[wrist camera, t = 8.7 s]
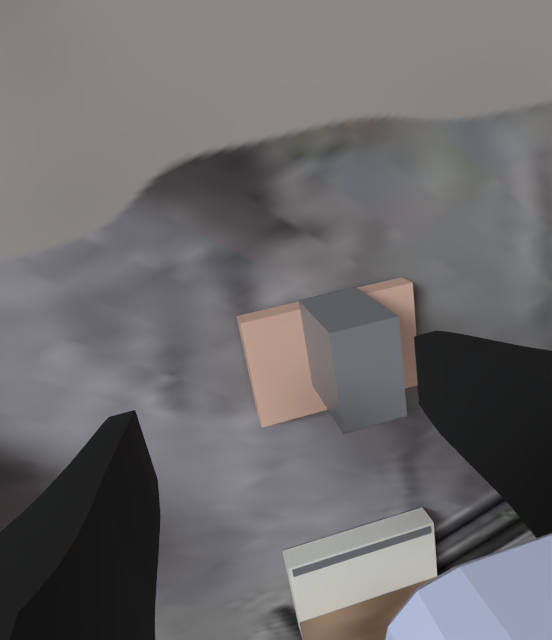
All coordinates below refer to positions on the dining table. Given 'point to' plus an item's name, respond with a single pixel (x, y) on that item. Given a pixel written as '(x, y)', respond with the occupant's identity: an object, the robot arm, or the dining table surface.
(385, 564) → the board
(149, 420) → the dining table surface
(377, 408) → the grey and peach block
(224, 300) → the dining table surface
